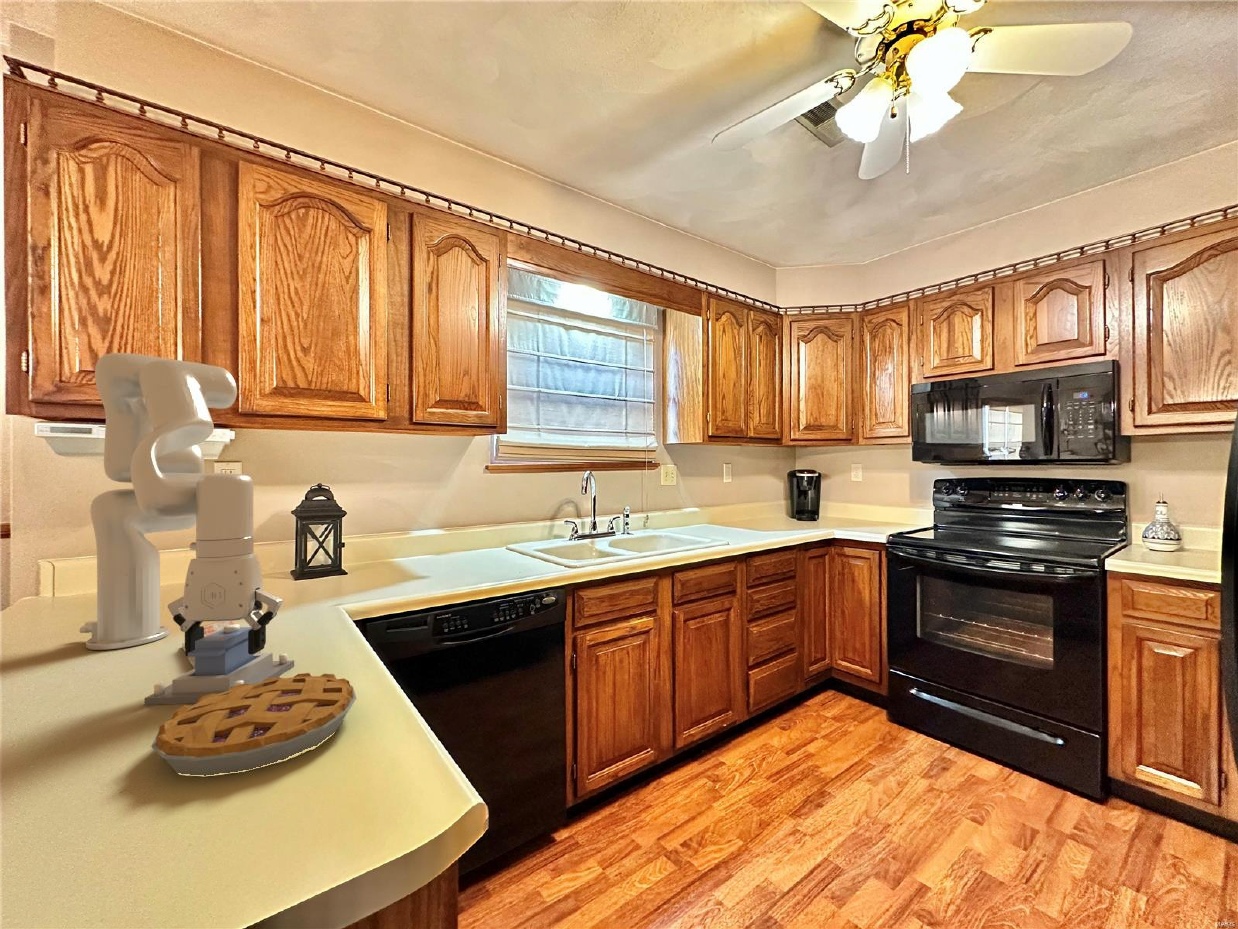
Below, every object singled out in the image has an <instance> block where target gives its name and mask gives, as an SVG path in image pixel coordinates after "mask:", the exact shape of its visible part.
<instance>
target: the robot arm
mask: <svg viewBox="0 0 1238 929" xmlns="http://www.w3.org/2000/svg"><path fill="white" fill-rule="evenodd" d="M94 379H95V380H94V381H95V385H96V389H97V392H98V395H99V398H100V400H101V403H102V404H103V408H104V412H105V427H104V428H105V429H104V447H103V448H104V450H103V451H104V452H103V467H104V468H103V469H104V472H105V475H106V477H107V478H108V479H110V481H111V480H112V481H114V482H118V483H125V484H126V483H127V484H129V483H130V484H131V483H132V487H133V488H120V489H113V490H108V491H105V492H102V493H100V494H98V495H96V497H95V498H94V499H93V500H92V501H91V504H90V518H91V522H92V527H93V532H94V536H95V544H96V620H92V621H89V620H88V621H86V622H85V624H84V625H83V626H81V627H80V628H79V631H78V632H79V633H81V634H87V633H88V634H90V633H91V638H89V639H88V640H87V641H86V642H85V647H86V648H87V649H89V650H92V651H93V650H97V651H101V650H102V651H105V650H107V651H108V650H115V649H116V650H117V649H123V648H129V647H130V648H131V647H134V646H139V645H144V644H148V643H152V642H154V641H155V642H156V641H158V640H161V639H164V638H165V637H167V636H168V635H169V634H170V631H171V630H170V627H169V626H165V625H161V556H160V555H161V554H160V551H159V550H158V548H157V547H156V546H155V545H154V544H153V543H152V542H151V541H150V540H148V539H147V538H146V537H145V535H146V534H152V533H162V532H163V533H164V532H174V531H183V530H188V529H192V528H194V527H195V530H196V531H195V542H194V541H193V542H191V543H190V545H189V549H190V550H191V551H195V558H192V559H190V561H189V564H188V568H187V572H186V577H185V582H184V590H183V596H181V597H179V598H177V599H175V600H173V601H172V602H170V603H168V604H167V609H168V610H169V611H168V612H170V614H171V616H172V619H173V622H175V623H176V625H178V626H179V630H180V631H181V632H182V633H184V644H185V651H184V652H185V654H184V655H185V657H187V658H188V653H189V652H191V651H193V650H195V641H197V640H199V639H202V638H204V628H203V626H204V625H203V626H201V624H202V623H204V622H217V621H232V622H233V621H240V620H244V621H245V622H246V623H247V625H249V627H252V629H251V630H249V631H248V653H249V654H255V653H257V652H259V651H260V652H261V651H262V650H263V649H264V648H265V645H266V643H267V625H269V624H270V622H271V621H272V620H273V619H274V618H275V617H276V616H277V614H278V612H279V610H280V608H281V606H282V604H283V600H282V598H279V597H277V596H276V595H273V594H271V593H269V592H267V591H264V583H263V576H262V569H261V564H260V561H259V557H258V555H257V554H254V548H255V547H254V481H253V479H252V477H251V476H250V475H247V474H244V473H243V474H241V473H238V474H237V473H228V472H205V457H204V452H203V450H202V448H201V447H200V446H199V445H198V444H201V443H202V442H205V441H206V440H207V439H209V438H210V437H211V436H212V434H213V432H214V428H215V426H214V421H213V420H212V416H211V413H210V411H209V409H219V410H221V409H222V410H224V409H228V408H230V407H232V406H233V404H234V403H235V401H236V399H237V396H238V387H237V383H236V381H235V379H234V377H233V375H232V373H230V372H229V371H228V370H227V369H225V368H224V367H223V366H222V367H221V366H218V365H217V366H216V365H211V364H206V363H200V362H194V361H193V362H192V361H187V360H178V359H173V358H172V359H171V358H167V357H166V358H165V357H158V356H154V355H153V356H151V355H146V354H138V353H129V352H113V353H112V352H110V353H107V354H104V355H102V356H101V357H99V359H98V360H97V361H96V365H95V368H94ZM264 604H265V605H266V606H267V609H266V611H265V612H263V611H262V610H263V608H264Z"/></svg>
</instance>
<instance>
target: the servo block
mask: <svg viewBox="0 0 1238 929" xmlns="http://www.w3.org/2000/svg"><path fill="white" fill-rule="evenodd" d="M251 629H252V627H251V626H242V627H241V624H239V623H238V624H237V623H236V624H235V623H234V624H233V625H228V626H225V627H224V629H222V630H220V631H218V632H215V633H213V634H211V635H209V636H206V637H204V638H202V639H199V640H197V641H195V650H193V651H191V652H189V653H188V657H195V676H216V675H228V674H230V673H231V672H233V671H235V670H237V669H238V668H240V667H242V666H244V665H245V664H247V663H249V662H251V661H253V660H254V654H249V653H248V631H249V630H251ZM188 657H187V658H188Z"/></svg>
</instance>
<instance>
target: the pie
mask: <svg viewBox="0 0 1238 929" xmlns="http://www.w3.org/2000/svg"><path fill="white" fill-rule="evenodd" d="M356 695H357V694H356V691H355V689H354V687H353V685H351V684H350V681H349V680H348V679H346V678H345V677H344V678H336V675H335V674H333V673H323V674H321V675H311V674H310V672H305V673H297V674H296V675H294V676H293V677H280V676H279V677H276V678H270V679H266V680H264V681H262V682H260V683H255V684H250V685H249V684H246V683H244V684H240V685H236V686H232V687H231V688H230V690H228V691H226V692H223V693H220V694H209V695H205V696H201V697H199V699H198V701H197V703H194V704H193V705H188V704H187V705H185V704H184V705H182V706H180V707H179V708H177V709H176V710H175V711H174V712H173V713H172V717H171V719H169V720H167V721H164V722H162V723H161V724H160V725H159V726H158V728H159V729H158V731H157V734H156V736H155V738H154V740H153V742H152V744H151V745H150V746H151V748H152V749H153V751H155V752H156V753H157V754H158V755H159V756H160V757H161V758H162V759H164V760H165V761H166V762H167V763H168V765H171V766H170V767H171V768H172V769H173V771H174V772H175V771H176V772H177V773H181V774H190V775H204V776H206V775H214V774H219V773H230V772H238V771H243V770H249V769H253V768H256V767H261V766H263V765H267V764H270V763H274V762H277V761H278V760H284V759H286V758H288V757H289V756H292V755H294V754H296V753H299V752H302V751H303V750H305V749H308V748H311V747H313V746H317V745H318V744H319V743H321V742H322V741H323V740H325V739H326V738H327V737H329V736H330V735H332V734H333V733H334V732H336V733H337V731H338V730H337V729H339V728H340V726H341V725H340V724H342V723H343V722H342V721H344V720H345V718H346V716H347V714H348V713H349V711H350V710H351V708H352V707H353V704H354V703H355V702H356V700H357V696H356ZM343 719H344V720H343ZM338 727H339V728H338ZM336 730H337V731H336ZM176 772H175V773H176ZM177 773H176V774H177Z"/></svg>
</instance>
